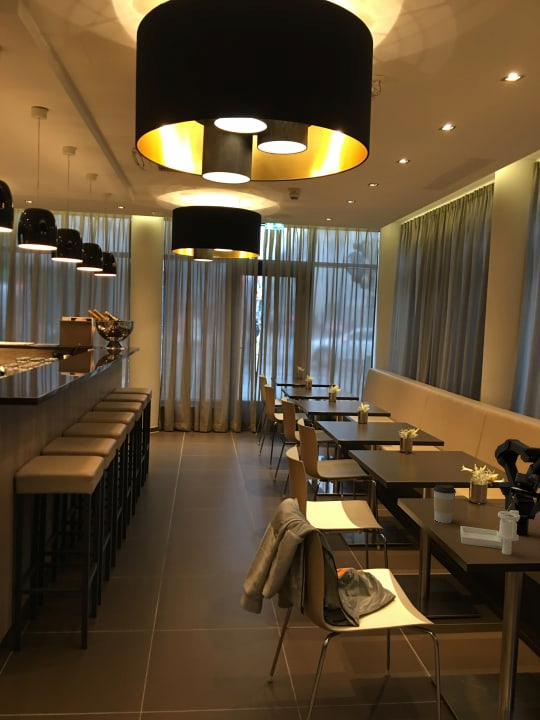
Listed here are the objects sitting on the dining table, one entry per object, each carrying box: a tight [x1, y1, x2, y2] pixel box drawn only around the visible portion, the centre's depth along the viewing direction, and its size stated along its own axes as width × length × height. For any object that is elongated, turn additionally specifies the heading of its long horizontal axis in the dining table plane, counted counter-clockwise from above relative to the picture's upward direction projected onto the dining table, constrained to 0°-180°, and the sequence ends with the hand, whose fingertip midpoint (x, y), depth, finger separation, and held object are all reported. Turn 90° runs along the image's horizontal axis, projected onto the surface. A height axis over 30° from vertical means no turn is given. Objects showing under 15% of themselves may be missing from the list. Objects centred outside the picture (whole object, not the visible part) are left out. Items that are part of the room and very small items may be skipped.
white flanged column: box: [497, 510, 520, 556], centre depth 204 cm, size 7×7×15 cm
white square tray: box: [459, 525, 503, 550], centre depth 217 cm, size 14×14×2 cm
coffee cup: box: [433, 482, 457, 524], centre depth 239 cm, size 9×9×15 cm
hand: (518, 512), depth 208 cm, fingers open, 9 cm apart
